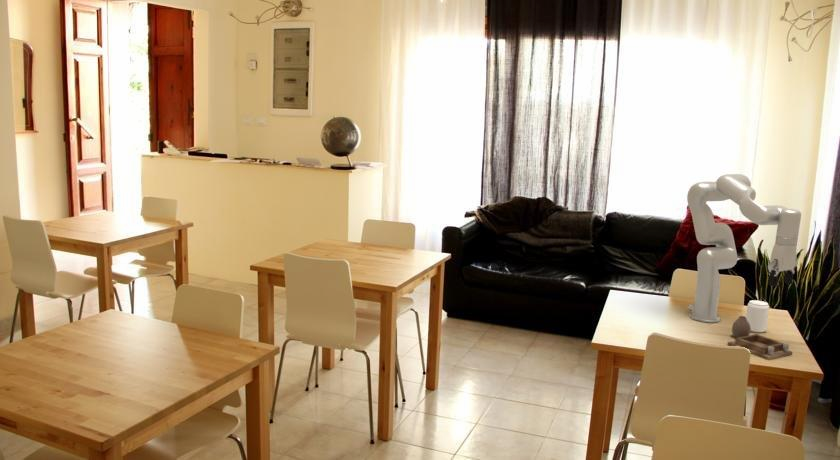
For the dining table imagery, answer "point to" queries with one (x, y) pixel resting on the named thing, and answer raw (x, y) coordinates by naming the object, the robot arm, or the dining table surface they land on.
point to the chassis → (762, 346)
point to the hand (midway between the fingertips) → (780, 284)
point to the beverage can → (757, 315)
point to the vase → (741, 327)
